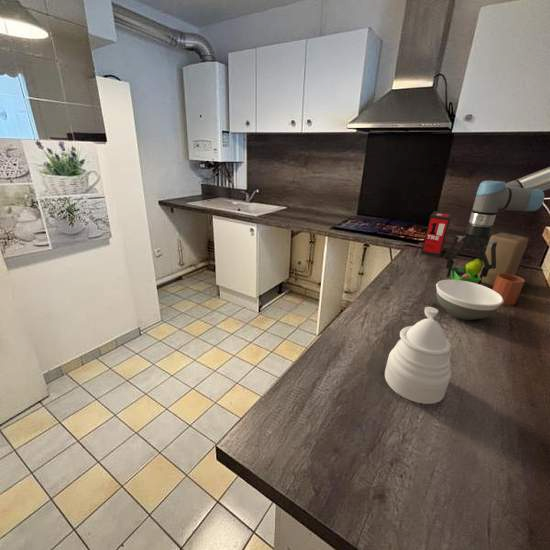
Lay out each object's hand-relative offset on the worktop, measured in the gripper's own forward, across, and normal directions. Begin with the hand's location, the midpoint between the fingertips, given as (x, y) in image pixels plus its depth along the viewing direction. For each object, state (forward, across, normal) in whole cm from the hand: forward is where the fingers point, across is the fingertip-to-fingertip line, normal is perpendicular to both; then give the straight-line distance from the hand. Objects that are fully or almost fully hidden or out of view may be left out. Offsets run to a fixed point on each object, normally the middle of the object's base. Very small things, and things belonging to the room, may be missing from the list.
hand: (463, 279), depth 116 cm
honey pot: (+3, +1, -69) cm, 69 cm away
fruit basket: (+2, +1, 0) cm, 2 cm away
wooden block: (+3, +10, +14) cm, 17 cm away
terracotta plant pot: (+3, +14, -3) cm, 14 cm away
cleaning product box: (+3, -20, +41) cm, 46 cm away
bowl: (+3, +4, -25) cm, 26 cm away
